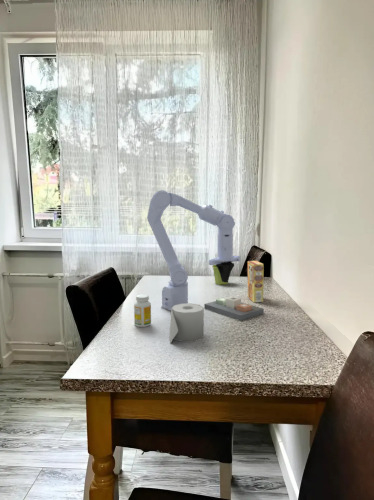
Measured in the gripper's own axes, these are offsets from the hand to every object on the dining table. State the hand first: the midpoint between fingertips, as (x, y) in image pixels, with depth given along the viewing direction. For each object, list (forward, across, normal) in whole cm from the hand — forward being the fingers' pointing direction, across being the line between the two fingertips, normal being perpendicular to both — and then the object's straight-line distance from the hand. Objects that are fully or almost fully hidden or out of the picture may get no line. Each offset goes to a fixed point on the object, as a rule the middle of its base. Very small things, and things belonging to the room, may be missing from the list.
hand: (224, 281), depth 138 cm
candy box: (+10, +15, -2) cm, 18 cm away
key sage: (+9, -3, -2) cm, 10 cm away
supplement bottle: (+9, -36, +1) cm, 37 cm away
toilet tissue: (+9, -32, -16) cm, 37 cm away
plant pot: (+9, +25, +27) cm, 38 cm away
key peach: (+9, -3, -12) cm, 16 cm away
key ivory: (+8, -3, -7) cm, 11 cm away
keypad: (+9, -3, -7) cm, 12 cm away
